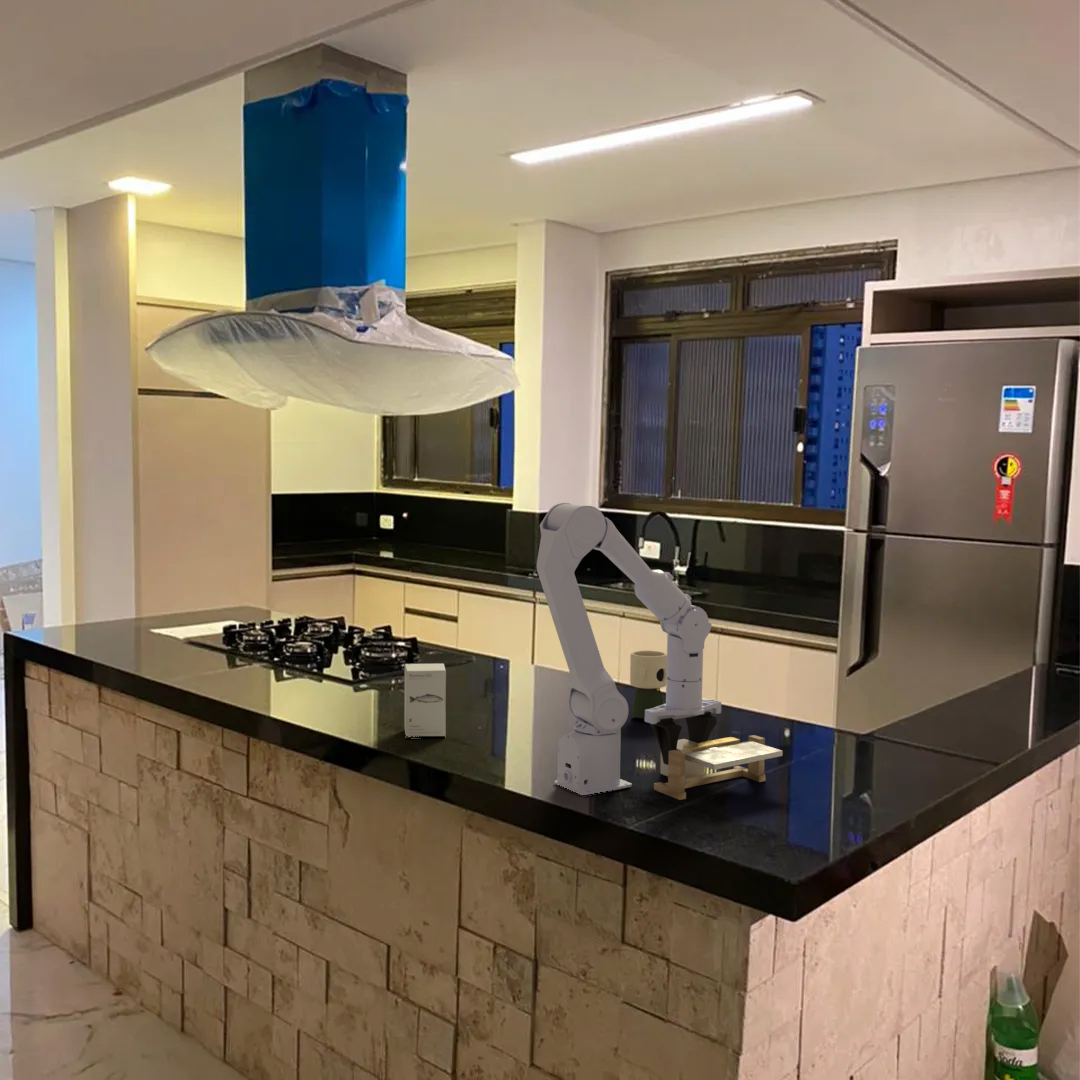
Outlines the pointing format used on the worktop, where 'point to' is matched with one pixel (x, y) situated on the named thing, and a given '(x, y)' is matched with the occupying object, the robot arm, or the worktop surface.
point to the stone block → (690, 767)
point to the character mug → (647, 680)
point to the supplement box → (425, 700)
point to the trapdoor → (728, 752)
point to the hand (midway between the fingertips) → (682, 762)
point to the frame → (679, 782)
